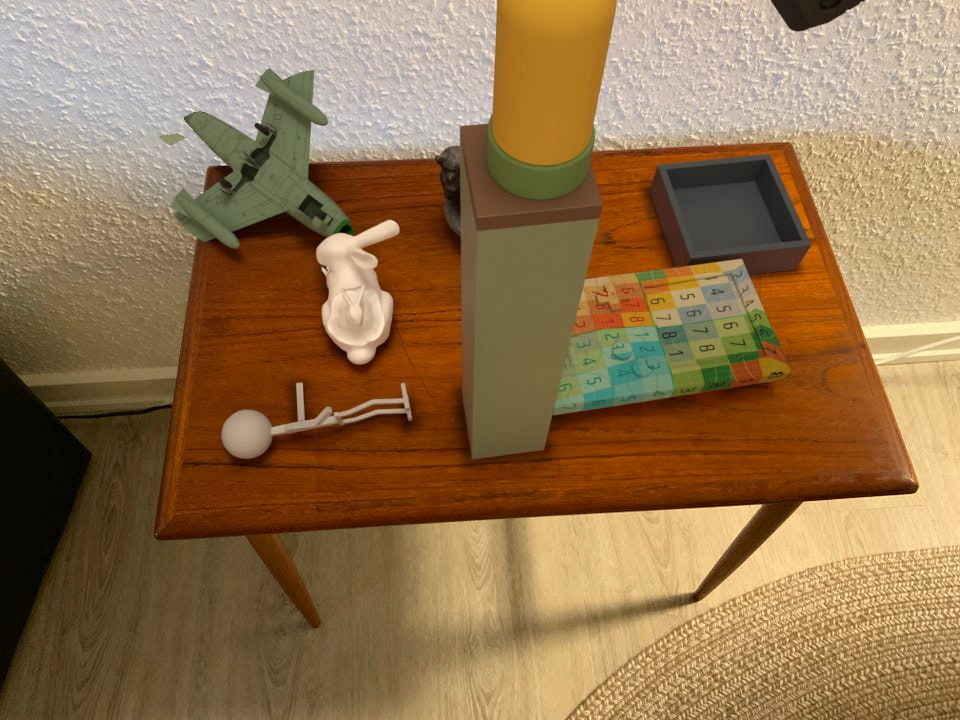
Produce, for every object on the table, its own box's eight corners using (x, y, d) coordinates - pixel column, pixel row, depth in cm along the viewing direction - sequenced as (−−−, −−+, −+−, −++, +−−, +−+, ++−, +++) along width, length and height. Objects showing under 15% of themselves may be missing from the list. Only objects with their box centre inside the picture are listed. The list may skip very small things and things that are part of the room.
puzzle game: (524, 282, 63) (745, 252, 65) (520, 312, 67) (728, 283, 69) (554, 403, 58) (796, 366, 60) (548, 428, 62) (774, 392, 64)
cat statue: (561, 208, 73) (574, 131, 65) (561, 265, 70) (574, 192, 61) (441, 200, 74) (438, 123, 65) (435, 257, 70) (430, 183, 61)
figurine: (397, 342, 58) (203, 377, 57) (410, 417, 56) (211, 455, 55) (402, 365, 64) (227, 397, 62) (414, 434, 62) (234, 468, 61)
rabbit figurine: (321, 265, 69) (301, 195, 61) (401, 255, 70) (392, 184, 62) (331, 377, 63) (310, 316, 55) (418, 364, 64) (411, 302, 56)
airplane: (330, 236, 63) (379, 267, 73) (343, -9, 67) (388, 51, 76) (104, 253, 70) (176, 279, 80) (127, 30, 73) (193, 81, 83)
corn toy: (599, 194, 35) (648, -18, 26) (495, 205, 34) (506, -6, 25) (576, 119, 37) (613, -99, 28) (479, 129, 37) (483, -90, 28)
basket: (795, 270, 70) (812, 245, 67) (679, 283, 69) (690, 258, 66) (756, 180, 76) (769, 153, 72) (648, 191, 75) (657, 164, 71)
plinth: (544, 450, 61) (603, 204, 35) (471, 459, 60) (476, 217, 34) (531, 386, 64) (576, 114, 37) (462, 394, 63) (459, 125, 37)
